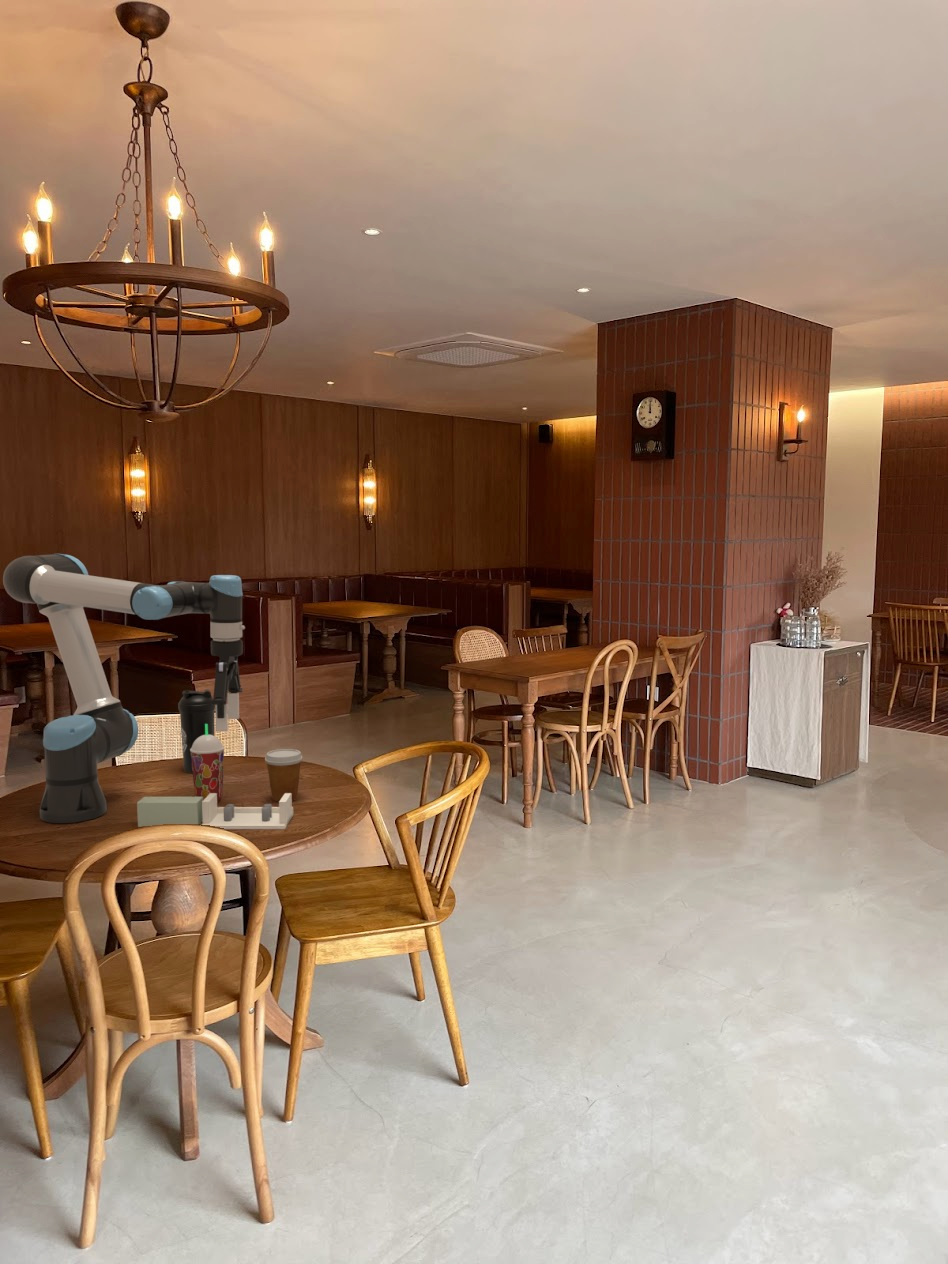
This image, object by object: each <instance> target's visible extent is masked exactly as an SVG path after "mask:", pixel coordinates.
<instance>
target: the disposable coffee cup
mask: <svg viewBox="0 0 948 1264" xmlns="http://www.w3.org/2000/svg"><path fill="white" fill-rule="evenodd" d="M302 759H303V755H302V753H301V751H300V750H298V749H292V748H284V749H283V748H281V749H274V750H269V751H268V752H266V755H265V757H264V760H265V763H266V766H267V773H268V779H269V786H270V791H271V798H272V801H275V802H276V803H277V802H278V803H279V801H280V800H281V798H282V797H283V795H284V794H285V793H291V794H292V801H295V800H297V799H298V792H299V782H300V772H301V763H302V761H303V760H302Z"/></svg>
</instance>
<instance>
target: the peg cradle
mask: <svg viewBox="0 0 948 1264" xmlns="http://www.w3.org/2000/svg"><path fill="white" fill-rule="evenodd" d="M292 803H293V802H292V794H291V793H285V794H284V795H283V797H282V798H281V800H280V801H279V802H278V806H272V803H265V804H263V806H235V804H234V803H228V804H225V806H218V802H217V793H210V794H209V795H208V796H207V797H206V798H205V799H204V800H203V801H202V816H203V822H202V823H201V825H210V826H215V827H220V828H224V829H223V830H285V829H286V828H287V826H288V825H289V823H290V822H291V820H292V818H293V817H294V806H292V805H293V804H292Z"/></svg>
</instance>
